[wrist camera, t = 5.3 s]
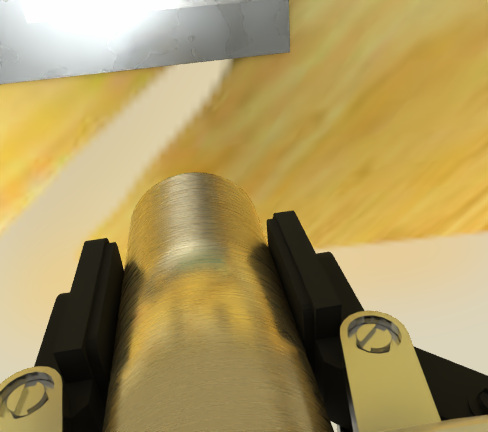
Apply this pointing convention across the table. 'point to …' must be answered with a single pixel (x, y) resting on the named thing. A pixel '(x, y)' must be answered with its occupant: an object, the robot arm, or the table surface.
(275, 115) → the table surface
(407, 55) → the table surface
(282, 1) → the socket plate
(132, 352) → the peg
